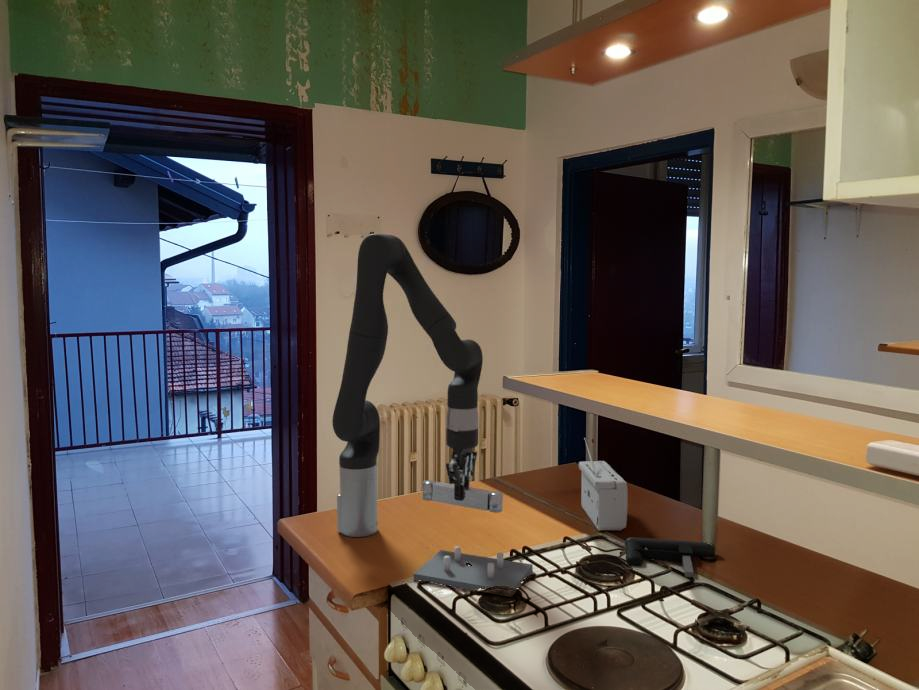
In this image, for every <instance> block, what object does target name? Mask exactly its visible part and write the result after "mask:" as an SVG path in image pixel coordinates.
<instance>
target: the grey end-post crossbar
mask: <svg viewBox="0 0 919 690" xmlns="http://www.w3.org/2000/svg"><path fill="white" fill-rule="evenodd" d="M421 490H422V491H421V492H422V493H421V494H422V497H421V499H422V500H423V501H427V502H429V501H432V502H435V503H436V502H437V503H440V504H447V505H453V506H459V507H464V508H468V509H469V508H470V509H476V510H481V511H486V512H487V511H489V512H491V513H493V514H494V513H495V514H496V513H497V514H498V513H501V512H503V505H504V503H503V501H504V499H503V498H504V493H503V492H502V491H495V490H493V491H492V490H489V489H483V488H477V487H471V486H469V487H465V486H464V499H463V500H462V501H460V500H455V499H454V484H450V483H447V482H440V481H436V480H431V479H427V480H423V481H422V489H421Z"/></svg>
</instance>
